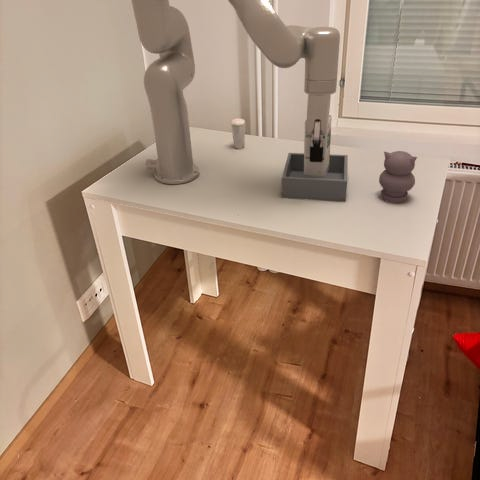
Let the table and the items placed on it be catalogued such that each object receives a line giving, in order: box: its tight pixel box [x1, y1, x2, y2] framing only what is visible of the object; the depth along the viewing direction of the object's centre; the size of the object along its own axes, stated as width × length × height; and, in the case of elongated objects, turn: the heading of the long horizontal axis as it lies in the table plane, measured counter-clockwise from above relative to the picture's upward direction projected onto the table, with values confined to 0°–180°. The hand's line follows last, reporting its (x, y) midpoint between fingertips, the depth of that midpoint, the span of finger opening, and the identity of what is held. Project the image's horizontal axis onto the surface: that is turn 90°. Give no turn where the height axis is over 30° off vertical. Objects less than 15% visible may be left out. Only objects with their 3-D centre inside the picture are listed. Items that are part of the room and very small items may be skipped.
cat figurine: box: [378, 150, 418, 204], centre depth 115 cm, size 8×8×12 cm
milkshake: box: [230, 117, 247, 150], centre depth 146 cm, size 4×5×10 cm
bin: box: [281, 152, 349, 202], centre depth 123 cm, size 16×16×6 cm
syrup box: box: [303, 114, 333, 177], centre depth 119 cm, size 6×6×14 cm
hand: (316, 155), depth 120 cm, fingers closed on syrup box, 6 cm apart
